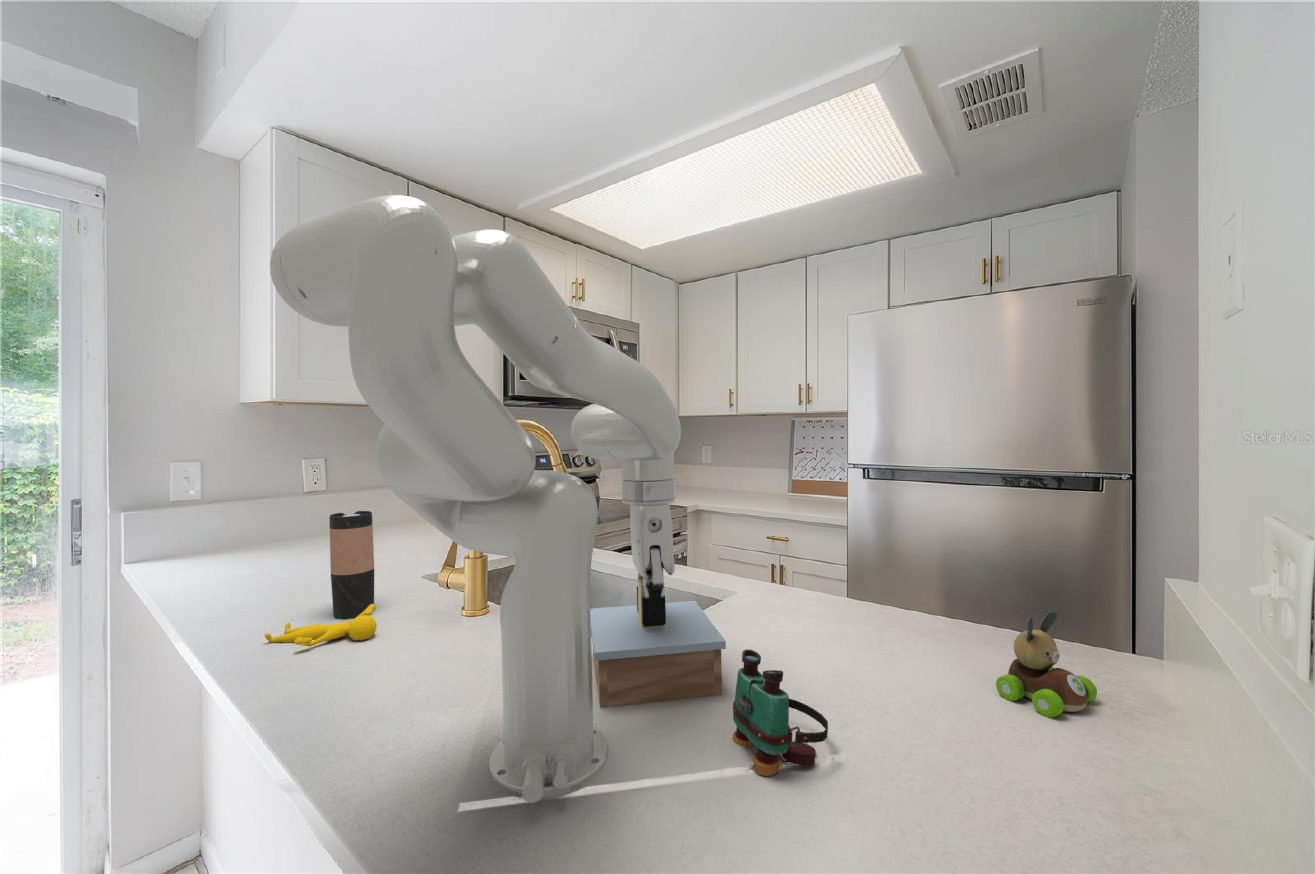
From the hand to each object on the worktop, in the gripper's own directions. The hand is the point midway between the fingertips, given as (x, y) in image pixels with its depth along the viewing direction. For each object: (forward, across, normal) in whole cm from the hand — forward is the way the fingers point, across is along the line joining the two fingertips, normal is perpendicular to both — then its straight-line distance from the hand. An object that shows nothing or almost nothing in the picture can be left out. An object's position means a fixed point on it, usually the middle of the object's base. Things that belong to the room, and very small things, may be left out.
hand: (651, 617), depth 79 cm
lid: (+2, 0, 0) cm, 2 cm away
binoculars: (+9, -20, -11) cm, 25 cm away
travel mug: (+9, +41, +54) cm, 68 cm away
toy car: (+9, -16, -49) cm, 52 cm away
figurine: (+9, +28, +54) cm, 62 cm away
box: (+9, 0, 0) cm, 9 cm away
